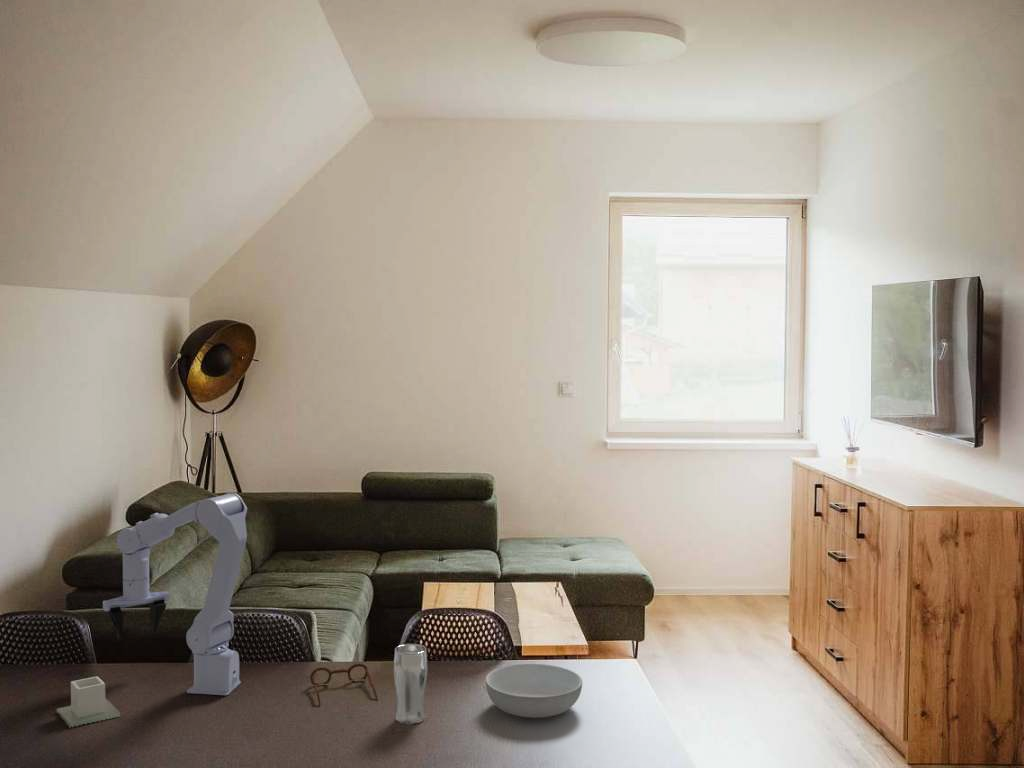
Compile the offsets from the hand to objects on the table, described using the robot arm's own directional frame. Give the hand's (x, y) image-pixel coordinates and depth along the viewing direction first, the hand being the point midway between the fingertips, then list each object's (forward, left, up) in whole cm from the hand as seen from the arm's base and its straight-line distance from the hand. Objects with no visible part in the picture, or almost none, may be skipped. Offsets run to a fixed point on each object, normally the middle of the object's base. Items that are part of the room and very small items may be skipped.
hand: (136, 636), depth 235 cm
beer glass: (-68, +15, -10) cm, 70 cm away
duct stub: (-1, +23, -9) cm, 25 cm away
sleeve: (-1, +23, -9) cm, 24 cm away
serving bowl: (-93, +6, -10) cm, 94 cm away
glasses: (-50, +3, -10) cm, 51 cm away
